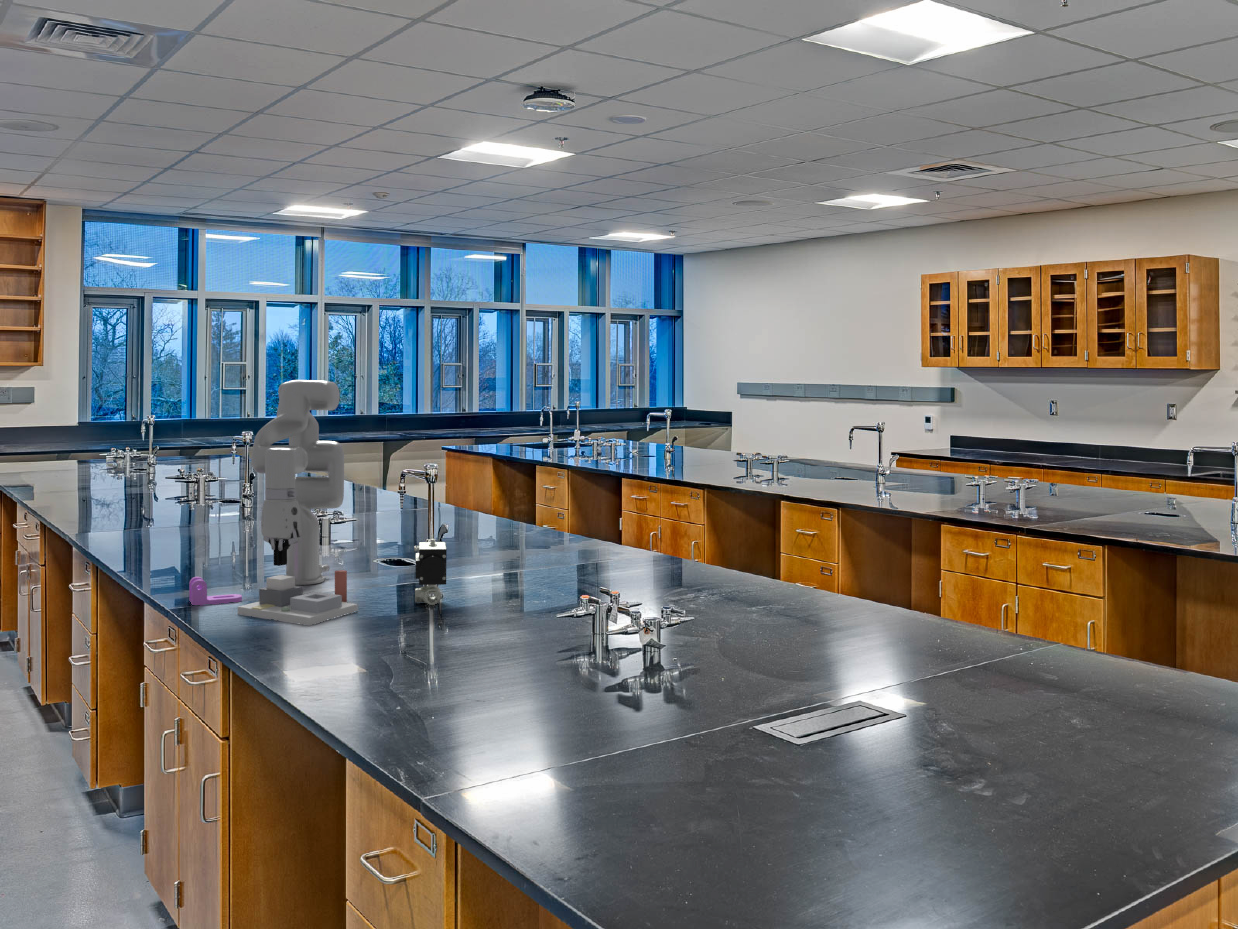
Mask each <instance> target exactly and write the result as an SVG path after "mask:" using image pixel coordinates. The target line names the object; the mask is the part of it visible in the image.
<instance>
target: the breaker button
mask: <svg viewBox="0 0 1238 929" xmlns="http://www.w3.org/2000/svg"><path fill="white" fill-rule="evenodd" d="M295 586H296V585H295V577H293V576H286V574H285V575H283V574H278V575H273V576H269V577H266V587H267V589H272V590H279V591H283V590H287V589H291V588H295Z"/></svg>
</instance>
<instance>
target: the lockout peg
mask: <svg viewBox="0 0 1238 929" xmlns="http://www.w3.org/2000/svg"><path fill="white" fill-rule="evenodd" d="M334 594H336V595H342V602H346V603H348V570H346V569H345V570H344V569H343V570H342V569H338V570H335V571H334Z"/></svg>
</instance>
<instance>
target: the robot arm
mask: <svg viewBox="0 0 1238 929" xmlns="http://www.w3.org/2000/svg"><path fill="white" fill-rule="evenodd" d="M278 399H279V401H278V406H277V412H276V416H275V418H272V419H271V420H270V421H269V422H267V423H266V424H265V425H263V426H262V427H261V428H260V429H259V430H258V431H257V433H256V435H255V437H254V440H253V444H252V449H251V456H250V457H251V458H250V462H251V467H252V469H253V470H254V471H255V472H256V473H258V474H263V475H264V486H265V487H264V500H263V503H262V508H261V509H262V510H261V516H260V517H261V518H260V521H261V522H260V529H261V530H260V531H261V535H262V536H263V538H262V540H263V541H264V542H265V543H268V544H269V545H270V548H271V550H272V551H273V565H274V566H277V567H279V566H285V570H286V573H285V575H286V576H293V577H295V586H309V585H315V584H321V583H323V582H325V578H326V577H325V576H324V575H322V573H324V572H328V571H330V565H328V564H324V565H322V564H320V524H319V520H318V518H317V517H316V515H315V514H314V513H313V512H312V510H317V509H320V510H323V509H326V510H327V509H329V510H330V509H338V508H340V507H341V506H342V505H343V502H344V494H345V454H344V453H345V452H344V449H343V446H342V444H341V443H340V442H339V441H334V440H333V441H332V440H320V438H319V437H320V436H319V431H320V426H319V422H318V421H317V419H316V418H315V417H314V415H313V414H312V413H311V412H310V411H335V410H336V409H337V408H338V406H339V403H340V400H341V399H340V390H339V387H338V385H337V384H336V382H333V381H329V380H317V379H316V380H314V379H310V380H309V379H308V380H307V379H294V380H289V381H285V382H283V383H281V384H280V385H279V387H278ZM285 439H288V445H273V444H275V443H278V442H281V441H282V440H285ZM302 473H324V474H325V473H326V474H327V475H328V476H296V475H297V474H302Z"/></svg>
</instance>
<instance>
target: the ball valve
mask: <svg viewBox="0 0 1238 929" xmlns="http://www.w3.org/2000/svg"><path fill="white" fill-rule="evenodd" d="M435 540H436V539H434V538H430V541H419V544H418V545H414V546H413V547H414V550H413V551H414V552H415V572H414V573H415V580H418V585H419V586H420V587H419V588H414V601H415V603H420V602H425V603H428V604H429V605H428V604H427V605H428V606H430V605H434V606H436V605H435V604H437V603H438V604H439V603H440V602H441V600H442V599H441V598H442V596H441V595H442V592H441V588H440V587H439V586H441V585H442V586H443V585H445V586H446V585H447V556H448V555H447V544H446V541H435ZM438 604H437V605H438Z"/></svg>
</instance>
